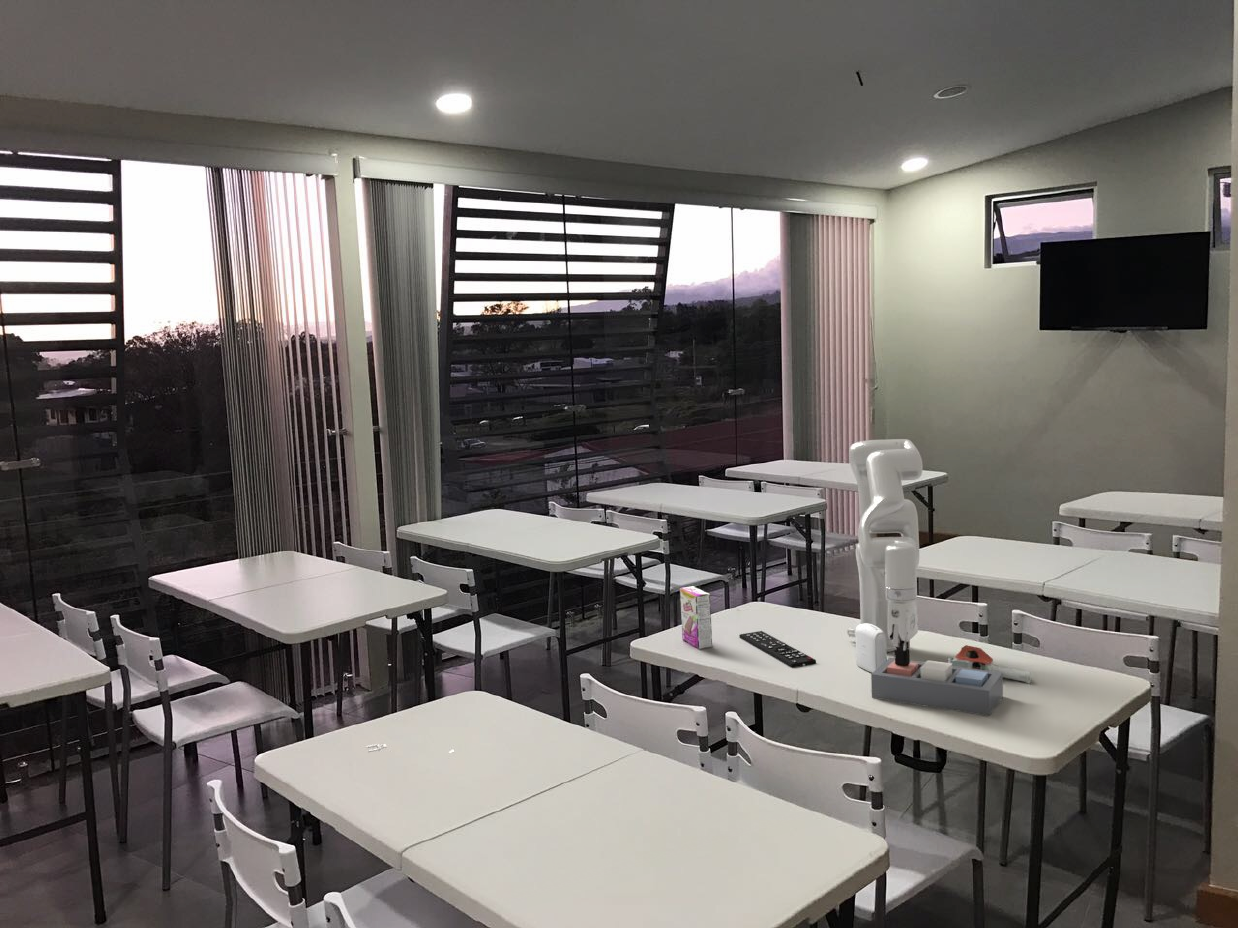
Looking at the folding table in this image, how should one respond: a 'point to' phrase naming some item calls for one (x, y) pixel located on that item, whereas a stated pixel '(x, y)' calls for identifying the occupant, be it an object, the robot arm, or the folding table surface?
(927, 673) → the white key
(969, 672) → the blue key
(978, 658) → the tape dispenser
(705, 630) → the candy bar box
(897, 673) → the red key
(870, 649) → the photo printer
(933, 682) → the key panel
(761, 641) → the remote control
